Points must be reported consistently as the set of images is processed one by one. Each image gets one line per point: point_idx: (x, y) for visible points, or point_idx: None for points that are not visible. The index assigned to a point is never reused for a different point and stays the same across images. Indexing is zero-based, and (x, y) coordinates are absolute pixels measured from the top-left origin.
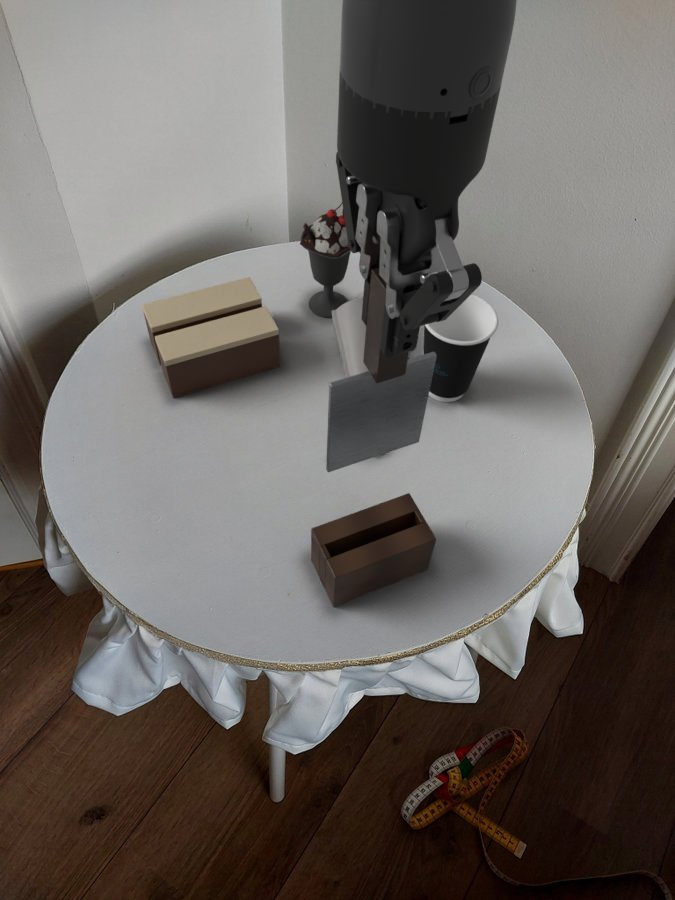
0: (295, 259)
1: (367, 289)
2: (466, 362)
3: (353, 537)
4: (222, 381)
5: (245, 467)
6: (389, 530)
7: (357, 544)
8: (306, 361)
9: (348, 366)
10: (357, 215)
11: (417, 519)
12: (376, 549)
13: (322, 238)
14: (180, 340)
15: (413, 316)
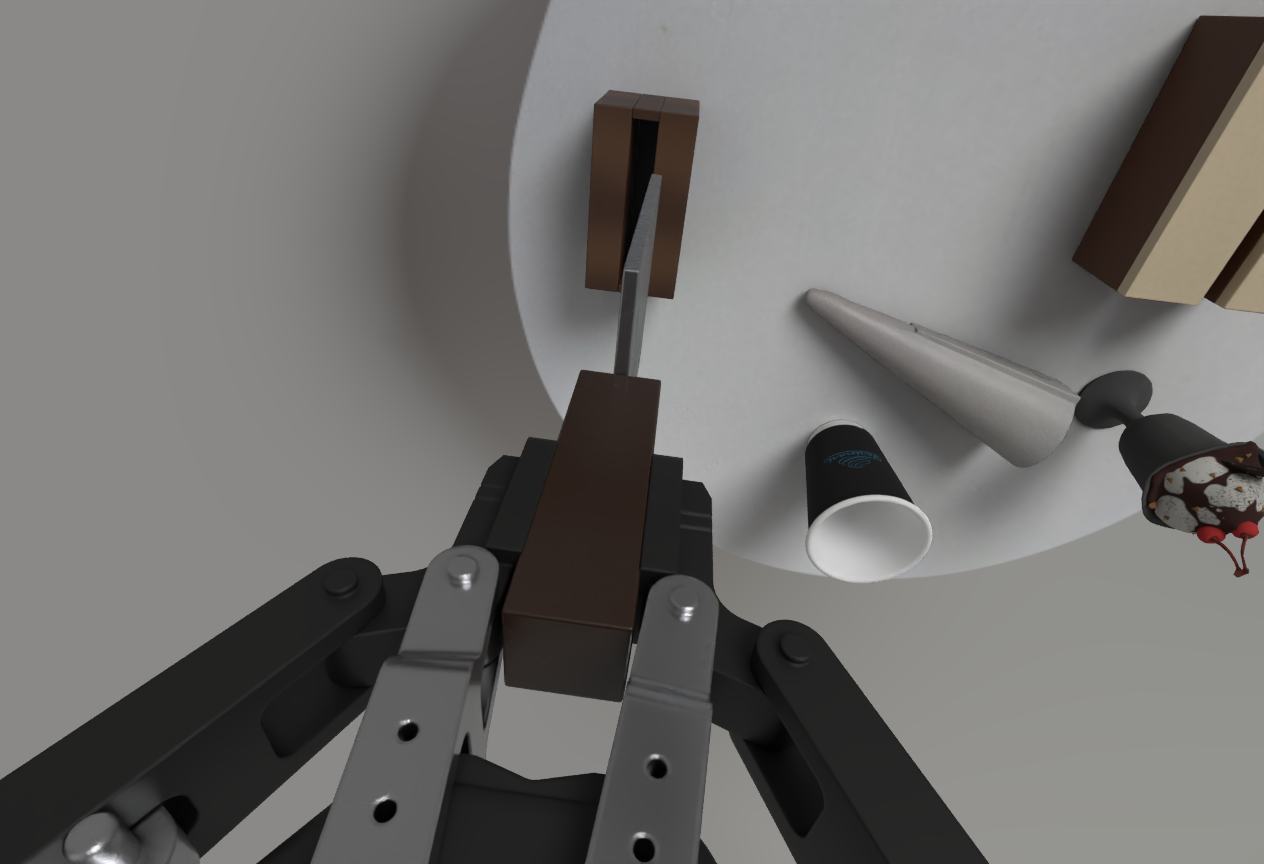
0: (1253, 410)
1: (651, 552)
2: (811, 495)
3: None
4: (1138, 140)
5: (931, 83)
6: None
7: None
8: (1041, 305)
9: (962, 355)
10: (820, 780)
11: None
12: (609, 197)
13: (1216, 481)
14: None
15: (255, 630)
